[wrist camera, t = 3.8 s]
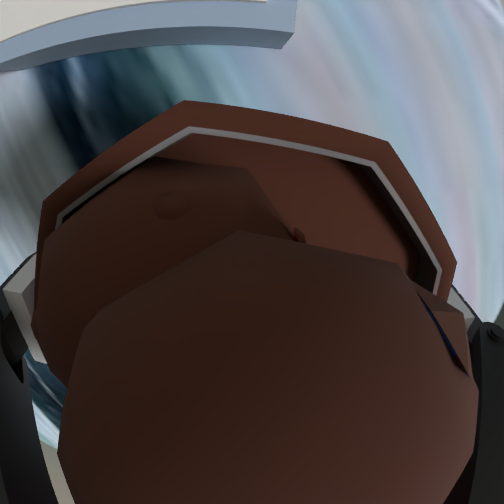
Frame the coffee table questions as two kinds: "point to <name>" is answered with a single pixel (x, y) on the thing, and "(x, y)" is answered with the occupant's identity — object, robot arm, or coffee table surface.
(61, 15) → the base plinth
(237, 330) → the ice cream bowl
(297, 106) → the coffee table surface
